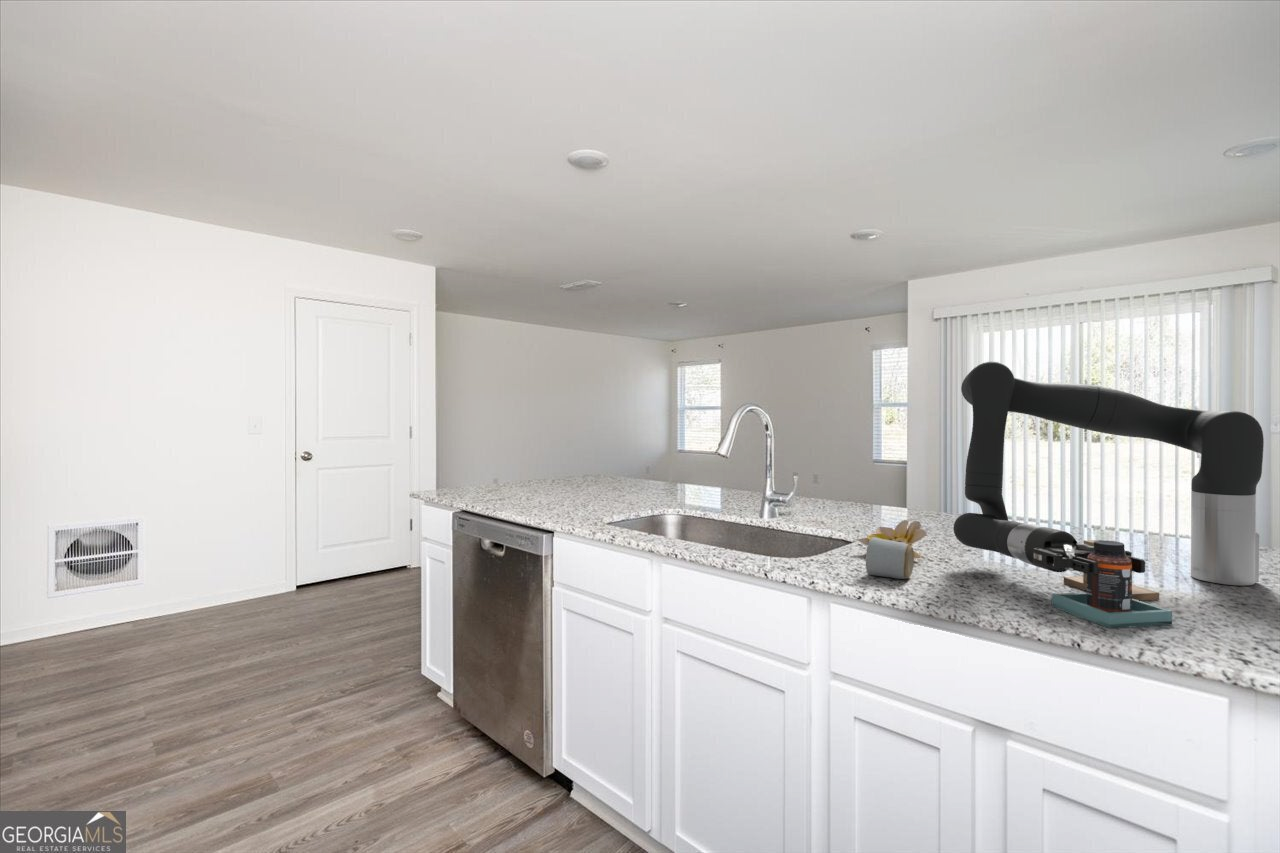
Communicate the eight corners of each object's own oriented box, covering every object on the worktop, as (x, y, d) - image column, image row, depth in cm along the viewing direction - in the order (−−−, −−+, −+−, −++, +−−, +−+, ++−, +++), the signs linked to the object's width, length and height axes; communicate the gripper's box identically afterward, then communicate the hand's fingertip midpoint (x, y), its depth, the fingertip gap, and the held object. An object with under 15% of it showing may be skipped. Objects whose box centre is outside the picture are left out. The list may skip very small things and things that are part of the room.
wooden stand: (1100, 581, 122) (1100, 534, 122) (1159, 599, 110) (1159, 547, 110) (1063, 583, 121) (1063, 536, 120) (1119, 601, 109) (1119, 549, 109)
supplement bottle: (1140, 617, 98) (1140, 546, 98) (1097, 615, 100) (1098, 545, 99) (1119, 606, 104) (1119, 539, 104) (1079, 604, 105) (1079, 538, 105)
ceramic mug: (908, 583, 121) (908, 544, 121) (864, 577, 126) (865, 540, 126) (917, 573, 130) (917, 536, 130) (876, 567, 135) (877, 532, 135)
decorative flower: (846, 542, 151) (857, 503, 151) (888, 551, 153) (898, 512, 152) (877, 561, 136) (889, 518, 136) (923, 571, 138) (935, 528, 138)
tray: (1109, 603, 108) (1109, 591, 108) (1172, 624, 97) (1172, 611, 97) (1051, 606, 106) (1051, 594, 106) (1109, 628, 95) (1109, 614, 95)
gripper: (1006, 527, 115) (1080, 546, 99) (1075, 525, 117) (1159, 543, 101) (1006, 568, 115) (1080, 593, 99) (1075, 565, 117) (1158, 589, 101)
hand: (1120, 567), depth 100 cm, fingers open, 8 cm apart
